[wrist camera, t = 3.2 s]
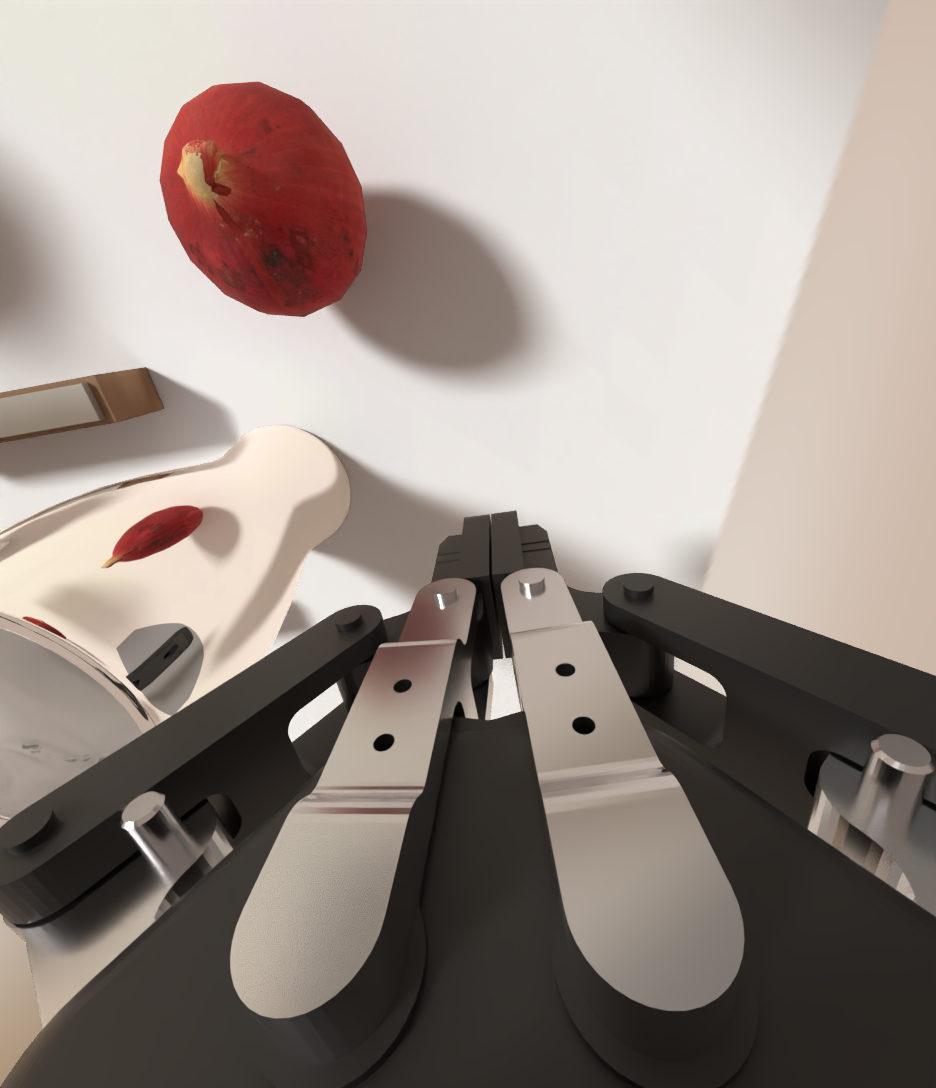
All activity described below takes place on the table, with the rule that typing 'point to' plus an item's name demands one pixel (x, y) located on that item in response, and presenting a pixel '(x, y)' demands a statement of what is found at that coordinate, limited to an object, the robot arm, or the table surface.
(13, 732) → the beer glass
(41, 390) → the cradle
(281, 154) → the onion
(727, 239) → the table surface
